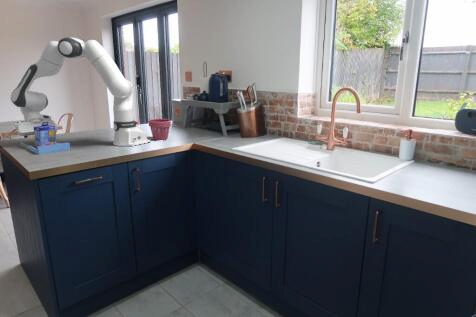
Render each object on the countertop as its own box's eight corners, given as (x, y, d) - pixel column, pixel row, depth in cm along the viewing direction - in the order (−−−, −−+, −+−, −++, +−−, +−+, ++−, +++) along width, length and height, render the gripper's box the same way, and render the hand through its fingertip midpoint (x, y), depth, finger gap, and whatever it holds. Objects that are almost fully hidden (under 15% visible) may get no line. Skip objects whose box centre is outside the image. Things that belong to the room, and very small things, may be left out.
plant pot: (168, 141, 210) (167, 121, 207) (146, 141, 210) (145, 121, 207) (173, 137, 224) (172, 118, 220) (152, 137, 224) (152, 118, 221)
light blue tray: (50, 141, 204) (49, 135, 203) (70, 149, 183) (69, 142, 182) (19, 145, 192) (18, 138, 191) (37, 154, 172) (36, 146, 171)
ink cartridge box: (41, 149, 184) (38, 123, 180) (35, 148, 186) (31, 122, 182) (57, 145, 192) (54, 121, 189) (51, 144, 195) (48, 120, 191)
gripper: (14, 118, 184) (21, 138, 180) (53, 115, 199) (61, 133, 195) (13, 125, 188) (20, 144, 184) (51, 122, 203) (59, 140, 199)
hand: (41, 139), depth 190 cm, fingers closed
